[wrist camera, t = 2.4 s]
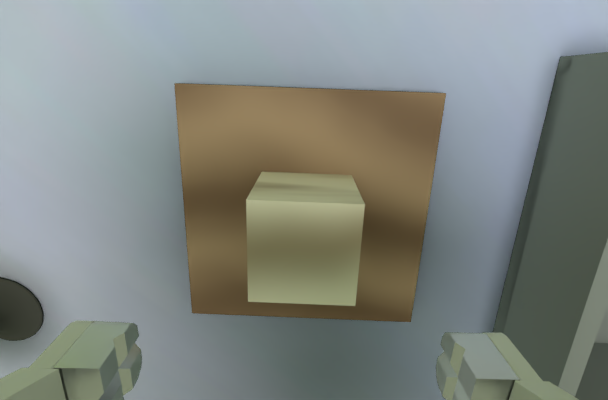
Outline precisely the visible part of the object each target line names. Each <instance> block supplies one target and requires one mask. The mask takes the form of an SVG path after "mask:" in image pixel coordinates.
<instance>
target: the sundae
mask: <svg viewBox="0 0 608 400" xmlns="http://www.w3.org/2000/svg"><path fill="white" fill-rule="evenodd" d="M42 320H43V313H42V309H41V306H40V304H39V302H38V300H37V299H36V298H35V296H34V295H33V294H32V293H31V292H30V291H29V290H27V289H26V288H25V287H23V286H22V285H20V284H18V283H16V282H13V281H10V280H6V279H2V278H0V338H2V339H5V340H10V341H17V340H24V339H26V338H29V337H31V336H33V335H35V334H36V333H37V331H38V330H39V329H40V327H41V326H42Z"/></svg>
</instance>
